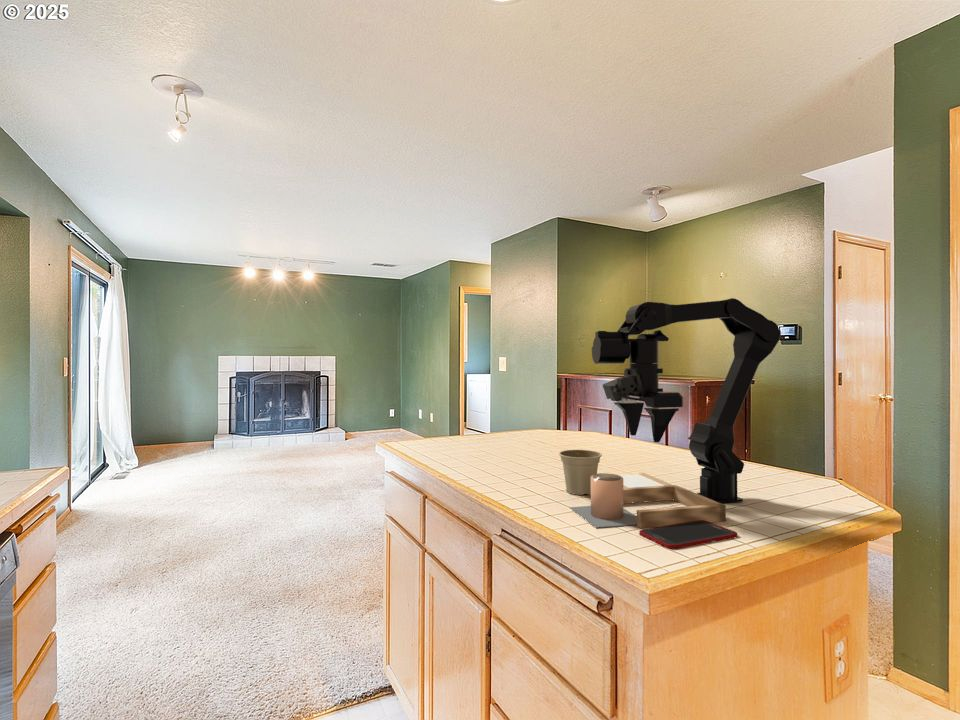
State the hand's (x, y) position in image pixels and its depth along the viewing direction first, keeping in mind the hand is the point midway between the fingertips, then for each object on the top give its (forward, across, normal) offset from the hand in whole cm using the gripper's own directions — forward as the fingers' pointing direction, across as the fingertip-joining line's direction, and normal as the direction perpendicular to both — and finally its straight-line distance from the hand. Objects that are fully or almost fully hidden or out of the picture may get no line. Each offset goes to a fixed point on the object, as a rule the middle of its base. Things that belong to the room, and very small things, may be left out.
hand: (644, 438), depth 102 cm
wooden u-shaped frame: (+13, +7, -1) cm, 15 cm away
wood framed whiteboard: (+13, -11, +5) cm, 18 cm away
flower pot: (+13, -10, -10) cm, 19 cm away
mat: (+13, +7, -12) cm, 19 cm away
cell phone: (+14, +20, -4) cm, 24 cm away
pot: (+13, +7, -12) cm, 19 cm away
